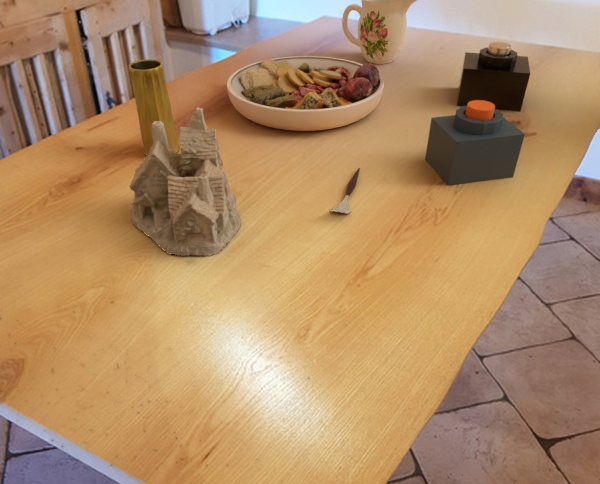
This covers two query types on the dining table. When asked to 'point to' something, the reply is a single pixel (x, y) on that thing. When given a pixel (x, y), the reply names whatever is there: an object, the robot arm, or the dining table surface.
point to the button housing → (473, 148)
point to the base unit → (494, 79)
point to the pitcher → (379, 28)
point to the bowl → (305, 92)
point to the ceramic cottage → (185, 192)
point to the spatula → (344, 206)
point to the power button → (499, 49)
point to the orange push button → (480, 110)
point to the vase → (152, 101)
